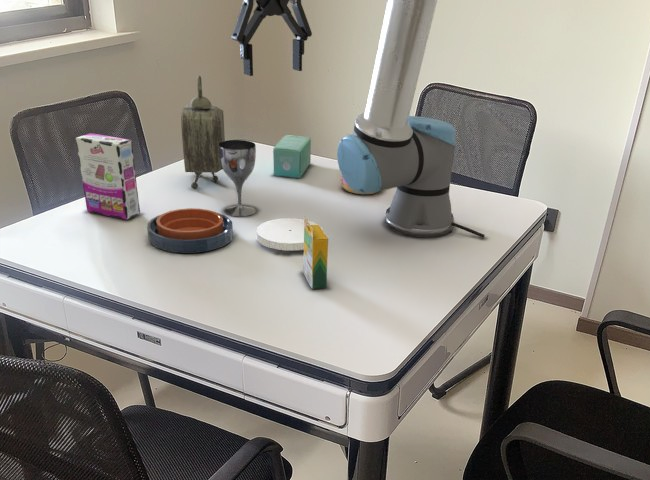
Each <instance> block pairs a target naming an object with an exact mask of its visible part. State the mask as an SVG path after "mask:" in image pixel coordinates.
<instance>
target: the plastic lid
mask: <svg viewBox="0 0 650 480" xmlns="http://www.w3.org/2000/svg"><path fill="white" fill-rule="evenodd" d="M308 222H309V223H310V225H319V224H318V223H315V222H314V221H311V220H308ZM307 225H308V224H307ZM319 226H320V228H321V229H322V231H323V232H324V228H323V227H322V226H321V225H319ZM324 233H325V232H324ZM255 238H256V240H257V242H258V243H259V244H261V245H262V246H264V247H266V248H270V249H273V250H279V251H281V250H282V251H286V252H287V251H292V252H293V251H304V218H303V219H302V218H301V219H300V218H292V217H291V218H289V217H287V218H285V217H284V218H276V219H271V220H268V221H264V222H262V223H260V224H259V225H257V227H256V229H255Z"/></svg>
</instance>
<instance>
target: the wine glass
mask: <svg viewBox="0 0 650 480" xmlns="http://www.w3.org/2000/svg"><path fill="white" fill-rule="evenodd" d="M256 148H257V146H256V143H255V142H253V141H250V140H246V139H245V140H244V139H229V140H225V141H223V142H221V143H220V144H219V155H220V161H221V165H222V168H223V169H222V171H223V172H224V173H225V175H226V176H227V177H228V179H230V180H231V181H232V182H233V185H234V186H235V189H236V195H237V205H230V206H227V207H226V208H225V209H224V210H223V211H224V213H225V214H226V215H228V216H231V217H239V218H240V217H248V216H252V215H254V214H256V212H257V210H256V209H255V208H254V207H252V206H250V205H242V191H243V186H244V183H246V180H247V179H248V178H249V177H250V176H251V175H252V174H253V172H254V168H255V164H256V158H257V157H256V156H257V149H256Z"/></svg>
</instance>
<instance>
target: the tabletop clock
mask: <svg viewBox="0 0 650 480" xmlns="http://www.w3.org/2000/svg"><path fill="white" fill-rule="evenodd" d="M196 80H197V81H196V83H197V84H196V86H197V87H196V89H197V96H195V97H193V98H192V99H191V100H190V103H189V105H185V104H184V105H183V107H182V111H181V115H180V116H181V117H180V125H181V143H182V154H183V164H184V172H185V173H194V174H195V177H194V180H193V181H192V182H190V187H191V188H192V189H198V186H199V185H198V183H197V182H198V180H199V178H200V177H201V175H202V174H203V173H204V174H205V173H210V174H211V175H212V177H211V181H212V183H218V181H219V177H218V176H217V175H216V173H219V172H220V171H223V168H222V165H221V161H220V155H219V144H220V143H221V142H223V141H226V136H225V118H224V117H225V115H224V110H223V109H221V108H220V107H217V106H215V105H212V103H211V101H210V100H209V98H208V97H206V96H203V86H202V85H203V84H202V76H201V75H197V79H196Z"/></svg>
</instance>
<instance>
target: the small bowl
mask: <svg viewBox="0 0 650 480" xmlns="http://www.w3.org/2000/svg"><path fill="white" fill-rule="evenodd" d="M218 213H219V212H216V211H213V210H210V209H204V208H194V207H193V208H192V207H191V208H190V207H189V208H179V209H178V208H177V209H173V210H169V211H167V212H165V213H161V214H162V215H161V214H159V215H160V216H159V215H158V216H159V217H158V218H157V220H156V226H157V234H158V235H161V236H164V237H168V238H173V239H201V238H207V237H211V236H215V235H218V234H220V233H223V232H224V225H223V218H222V216H221V215H220V214H221V213H219V214H218Z"/></svg>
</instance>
